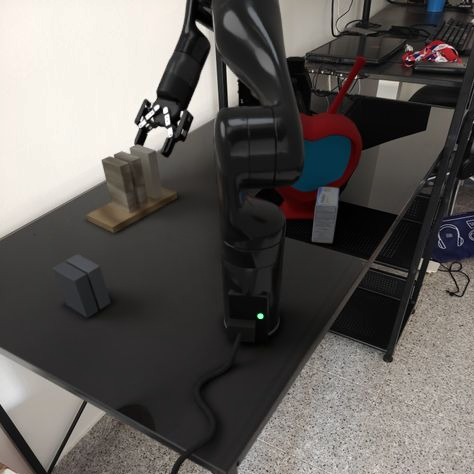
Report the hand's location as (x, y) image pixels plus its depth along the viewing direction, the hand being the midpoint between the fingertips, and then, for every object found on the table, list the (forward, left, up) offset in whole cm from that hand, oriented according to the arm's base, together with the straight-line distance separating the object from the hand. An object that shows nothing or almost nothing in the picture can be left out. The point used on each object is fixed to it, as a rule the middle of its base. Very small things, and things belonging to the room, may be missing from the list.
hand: (150, 151), depth 98 cm
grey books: (-42, +1, -11) cm, 43 cm away
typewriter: (+27, -31, -11) cm, 42 cm away
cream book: (-2, +1, -9) cm, 10 cm away
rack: (-7, +4, -11) cm, 13 cm away
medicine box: (-13, -40, -11) cm, 44 cm away
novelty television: (-3, -36, -11) cm, 37 cm away
